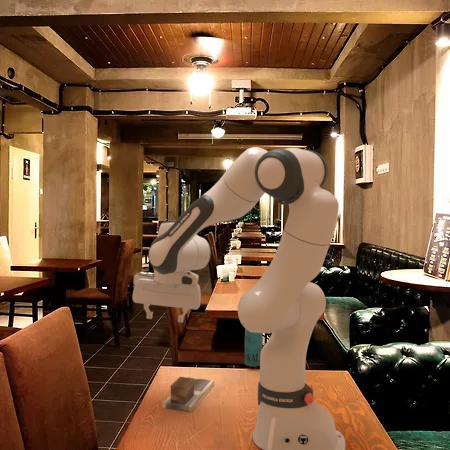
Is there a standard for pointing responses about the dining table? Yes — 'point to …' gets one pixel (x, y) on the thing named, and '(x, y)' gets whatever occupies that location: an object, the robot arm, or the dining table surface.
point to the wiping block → (182, 390)
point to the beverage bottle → (252, 348)
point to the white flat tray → (199, 393)
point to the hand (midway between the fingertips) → (164, 319)
